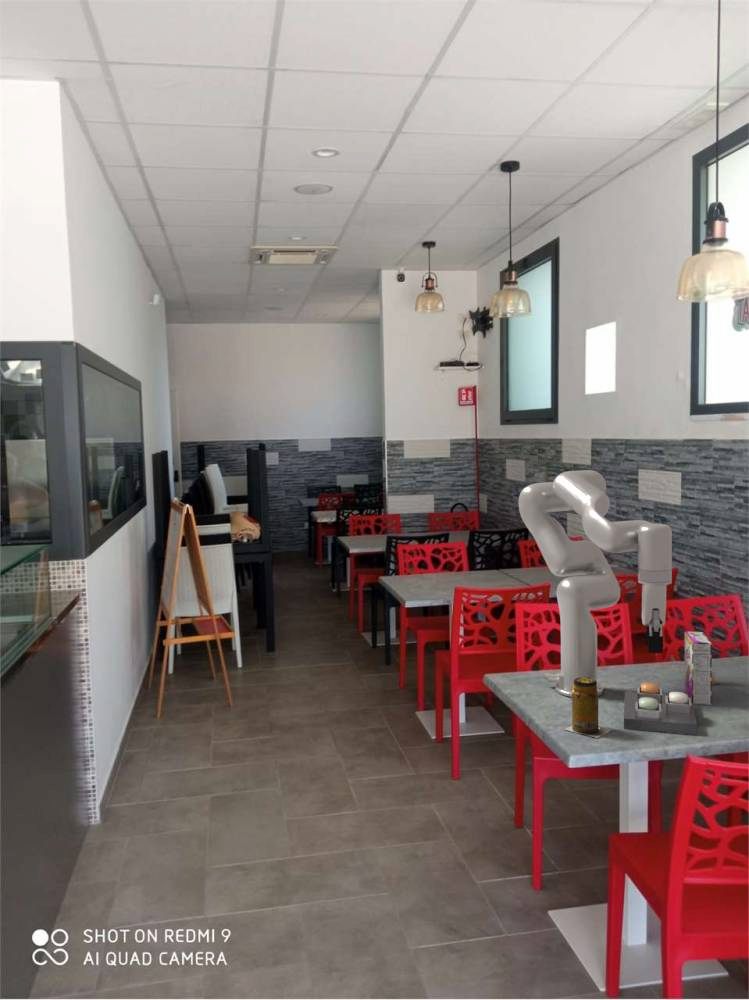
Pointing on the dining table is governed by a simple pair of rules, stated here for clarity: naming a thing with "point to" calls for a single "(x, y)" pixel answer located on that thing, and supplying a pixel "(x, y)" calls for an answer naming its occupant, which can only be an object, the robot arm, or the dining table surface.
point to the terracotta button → (649, 688)
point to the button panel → (659, 714)
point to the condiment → (585, 708)
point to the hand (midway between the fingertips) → (654, 647)
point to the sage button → (648, 703)
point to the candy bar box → (698, 668)
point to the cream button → (678, 698)
